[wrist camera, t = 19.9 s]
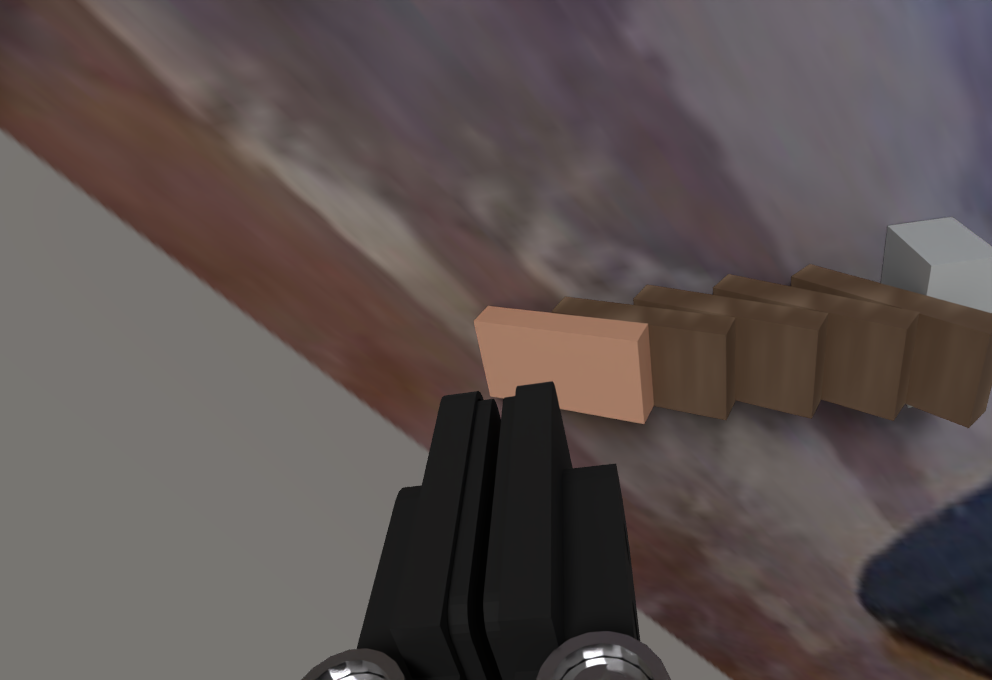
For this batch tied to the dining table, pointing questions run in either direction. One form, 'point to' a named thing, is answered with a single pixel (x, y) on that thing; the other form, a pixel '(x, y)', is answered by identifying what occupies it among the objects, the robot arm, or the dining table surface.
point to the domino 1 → (569, 360)
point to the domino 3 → (762, 346)
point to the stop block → (939, 262)
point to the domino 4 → (849, 343)
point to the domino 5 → (928, 343)
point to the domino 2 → (678, 353)
